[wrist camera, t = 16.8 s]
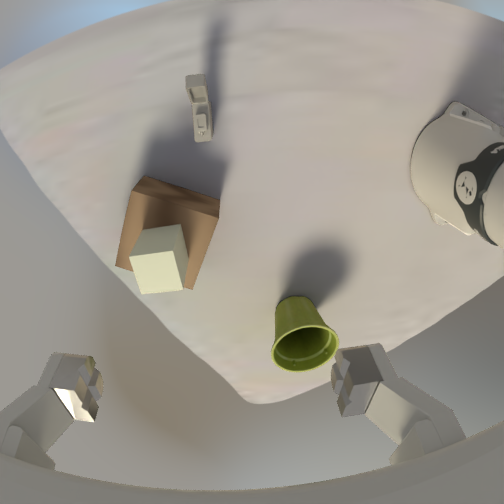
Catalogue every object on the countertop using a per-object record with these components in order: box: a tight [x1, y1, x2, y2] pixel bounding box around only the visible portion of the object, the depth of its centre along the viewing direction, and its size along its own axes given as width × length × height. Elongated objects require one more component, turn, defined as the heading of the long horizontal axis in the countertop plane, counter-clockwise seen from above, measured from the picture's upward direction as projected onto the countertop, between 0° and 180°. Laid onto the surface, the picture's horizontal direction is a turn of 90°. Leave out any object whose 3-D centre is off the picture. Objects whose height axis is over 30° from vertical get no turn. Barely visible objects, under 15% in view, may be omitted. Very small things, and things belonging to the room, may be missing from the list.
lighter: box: [186, 74, 213, 142], centre depth 30 cm, size 7×2×8 cm, turn 3°
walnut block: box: [115, 176, 220, 290], centre depth 38 cm, size 10×10×6 cm
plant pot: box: [271, 296, 339, 372], centre depth 46 cm, size 9×9×9 cm
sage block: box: [129, 224, 189, 294], centre depth 33 cm, size 4×4×6 cm
